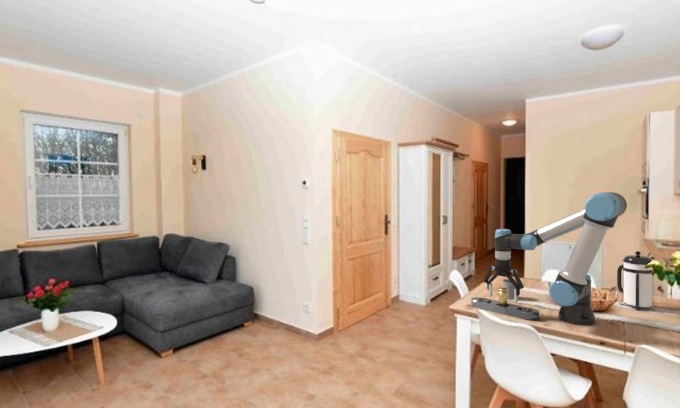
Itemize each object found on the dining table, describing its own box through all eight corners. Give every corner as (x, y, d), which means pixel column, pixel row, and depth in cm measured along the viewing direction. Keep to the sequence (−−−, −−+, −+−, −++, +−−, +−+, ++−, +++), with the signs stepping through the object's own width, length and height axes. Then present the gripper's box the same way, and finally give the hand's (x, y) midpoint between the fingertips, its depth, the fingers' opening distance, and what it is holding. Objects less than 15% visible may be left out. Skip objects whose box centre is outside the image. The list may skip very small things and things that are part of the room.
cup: (500, 297, 215) (500, 281, 215) (505, 294, 221) (505, 278, 221) (515, 300, 209) (515, 283, 209) (520, 297, 215) (520, 280, 215)
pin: (509, 311, 191) (509, 288, 191) (505, 313, 188) (505, 290, 188) (500, 309, 195) (500, 287, 194) (496, 311, 192) (496, 288, 191)
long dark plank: (542, 317, 181) (542, 309, 181) (535, 321, 175) (535, 313, 175) (476, 302, 207) (476, 295, 207) (468, 305, 202) (468, 298, 201)
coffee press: (657, 306, 194) (658, 250, 193) (654, 313, 183) (655, 254, 182) (617, 299, 207) (617, 247, 206) (612, 306, 196) (612, 251, 195)
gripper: (530, 260, 184) (530, 302, 184) (483, 254, 202) (484, 292, 203) (524, 262, 179) (524, 305, 179) (477, 256, 197) (477, 295, 198)
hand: (503, 298), depth 191 cm, fingers open, 13 cm apart
